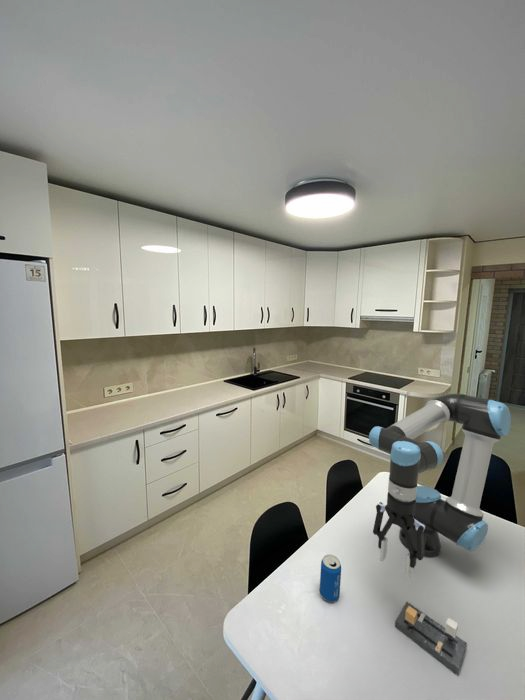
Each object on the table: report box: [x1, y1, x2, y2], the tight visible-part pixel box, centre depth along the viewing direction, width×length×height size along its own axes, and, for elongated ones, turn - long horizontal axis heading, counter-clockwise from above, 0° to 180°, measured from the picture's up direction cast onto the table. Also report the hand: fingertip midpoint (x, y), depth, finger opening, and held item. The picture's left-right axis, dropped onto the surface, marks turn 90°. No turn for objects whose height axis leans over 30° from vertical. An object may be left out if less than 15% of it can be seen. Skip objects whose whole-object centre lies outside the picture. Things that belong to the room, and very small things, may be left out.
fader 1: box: [405, 606, 417, 627], centre depth 85 cm, size 2×2×4 cm
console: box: [394, 601, 468, 676], centre depth 83 cm, size 16×9×2 cm, turn 43°
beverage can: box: [319, 553, 342, 603], centre depth 95 cm, size 6×6×12 cm
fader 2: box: [444, 616, 459, 640], centre depth 82 cm, size 2×2×4 cm
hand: (395, 566), depth 87 cm, fingers open, 7 cm apart
